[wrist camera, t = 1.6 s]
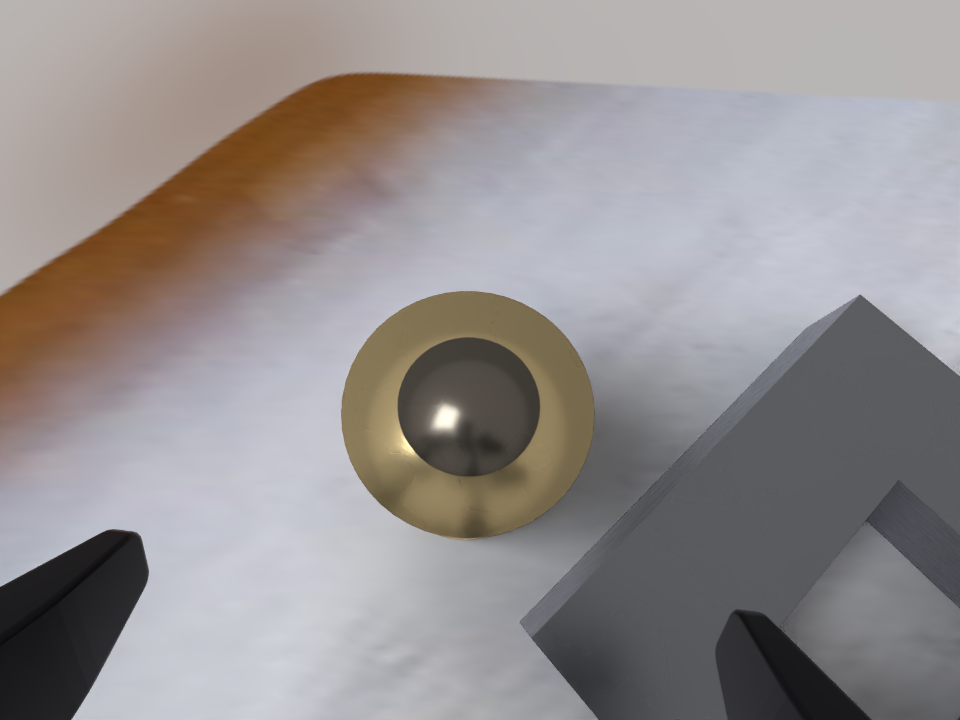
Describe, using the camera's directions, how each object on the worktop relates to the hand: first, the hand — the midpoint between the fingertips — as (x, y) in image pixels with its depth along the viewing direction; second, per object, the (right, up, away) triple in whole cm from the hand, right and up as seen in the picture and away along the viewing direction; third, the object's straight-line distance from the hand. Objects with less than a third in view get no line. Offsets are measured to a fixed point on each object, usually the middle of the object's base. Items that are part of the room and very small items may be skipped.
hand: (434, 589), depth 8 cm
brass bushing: (0, 0, +11) cm, 11 cm away
